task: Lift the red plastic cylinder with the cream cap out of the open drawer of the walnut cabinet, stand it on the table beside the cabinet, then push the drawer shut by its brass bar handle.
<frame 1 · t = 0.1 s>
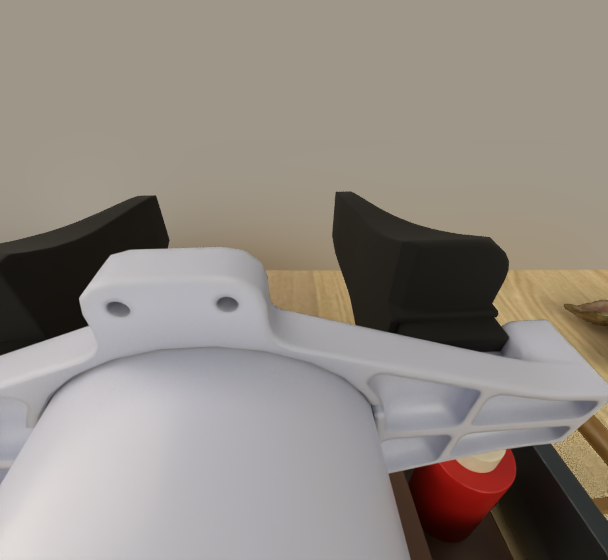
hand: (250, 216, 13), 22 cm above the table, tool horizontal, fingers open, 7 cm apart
red plastic cylinder: (439, 502, 21), point 2 cm above the table, touching drawer
cabinet: (290, 528, 22), on the table
drawer: (484, 483, 20), point 4 cm above the table, slide at 8.5 cm, touching red plastic cylinder
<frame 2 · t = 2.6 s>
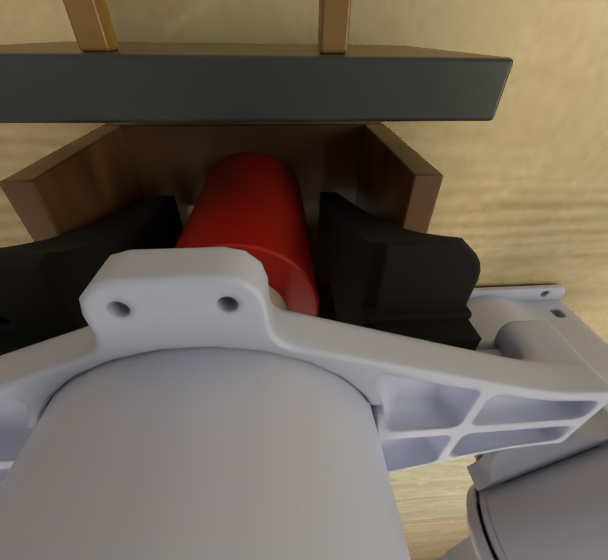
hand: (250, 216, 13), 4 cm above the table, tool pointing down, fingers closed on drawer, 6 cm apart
red plastic cylinder: (253, 201, 14), point 2 cm above the table, touching drawer
drawer: (244, 166, 11), point 4 cm above the table, slide at 8.5 cm, touching gripper, red plastic cylinder
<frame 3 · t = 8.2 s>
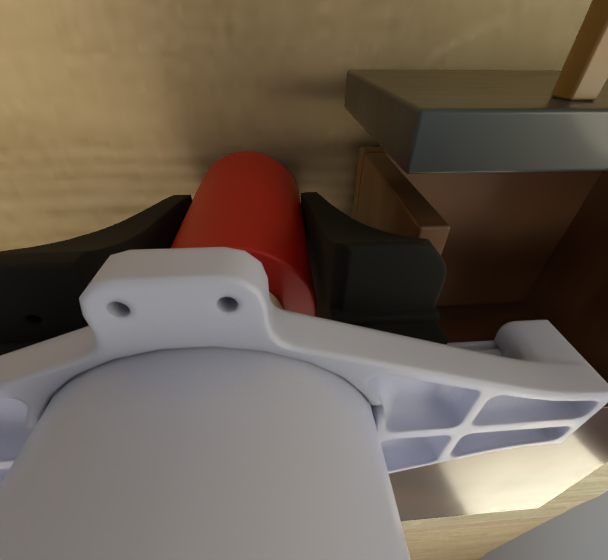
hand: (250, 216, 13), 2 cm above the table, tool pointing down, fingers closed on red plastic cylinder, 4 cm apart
red plastic cylinder: (250, 201, 14), point 1 cm above the table, touching gripper
cabinet: (408, 339, 22), on the table
drawer: (534, 195, 11), point 4 cm above the table, slide at 8.5 cm
when the fingers open (3 cm above the table, at t = 16.1 s): red plastic cylinder drops 2 cm, on the table.
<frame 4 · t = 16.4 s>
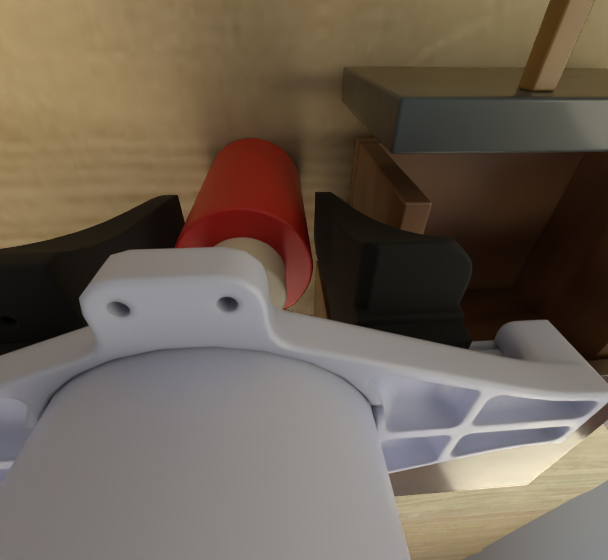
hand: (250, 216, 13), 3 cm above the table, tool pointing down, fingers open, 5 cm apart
red plastic cylinder: (255, 184, 16), on the table
cabinet: (404, 326, 23), on the table
drawer: (513, 181, 12), point 4 cm above the table, slide at 8.5 cm, touching gripper
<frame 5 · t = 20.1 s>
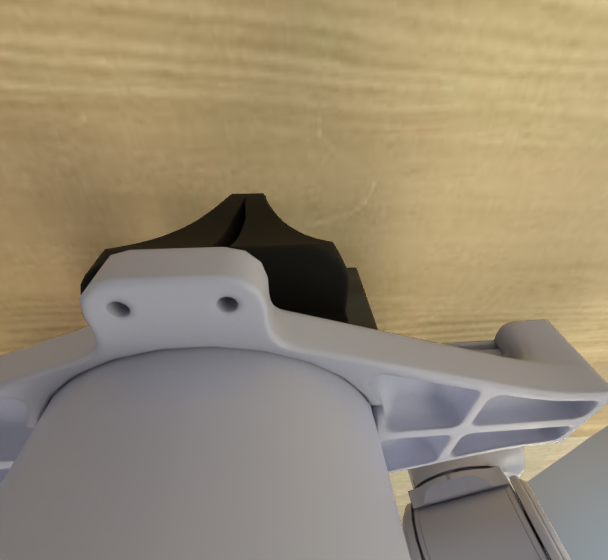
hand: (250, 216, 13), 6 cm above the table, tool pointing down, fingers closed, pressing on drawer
drawer: (265, 345, 20), point 4 cm above the table, slide at 8.3 cm, touching gripper
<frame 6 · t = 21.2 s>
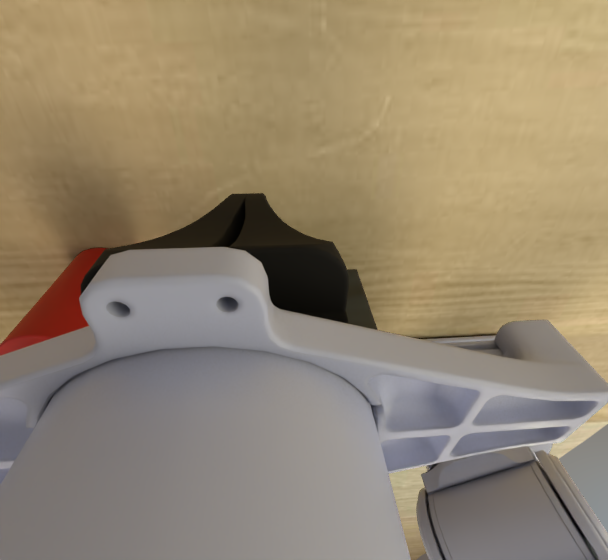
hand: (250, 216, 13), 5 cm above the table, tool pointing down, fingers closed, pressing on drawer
red plastic cylinder: (111, 275, 21), on the table
drawer: (265, 347, 20), point 4 cm above the table, slide at 3.9 cm, touching gripper
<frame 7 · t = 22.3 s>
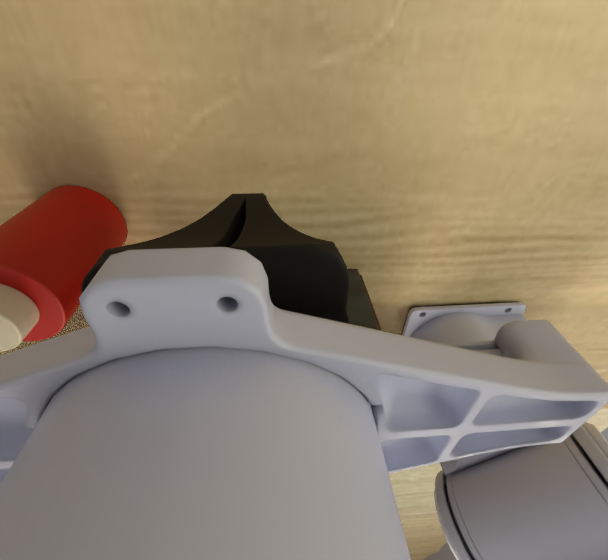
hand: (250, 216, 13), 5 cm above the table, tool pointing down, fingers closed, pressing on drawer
red plastic cylinder: (86, 221, 18), on the table
drawer: (266, 347, 20), point 4 cm above the table, slide at 0.0 cm, touching cabinet, gripper
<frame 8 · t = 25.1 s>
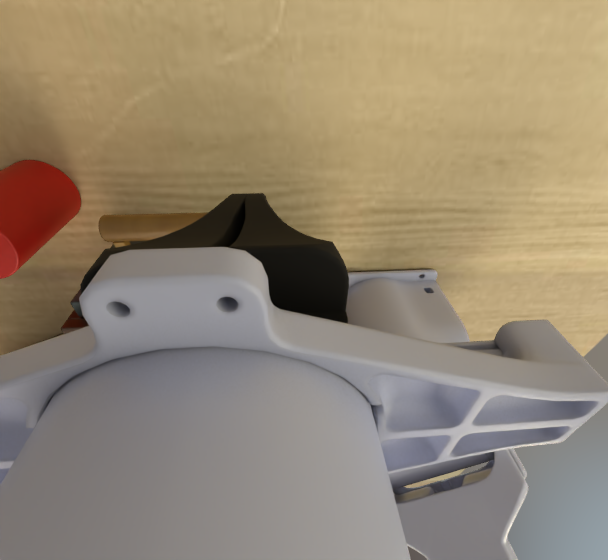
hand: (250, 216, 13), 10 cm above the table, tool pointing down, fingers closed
red plastic cylinder: (46, 191, 22), on the table
cabinet: (217, 301, 29), on the table
drawer: (199, 299, 23), point 4 cm above the table, slide at 0.0 cm, touching cabinet
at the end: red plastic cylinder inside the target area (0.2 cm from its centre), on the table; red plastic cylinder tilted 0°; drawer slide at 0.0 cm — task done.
